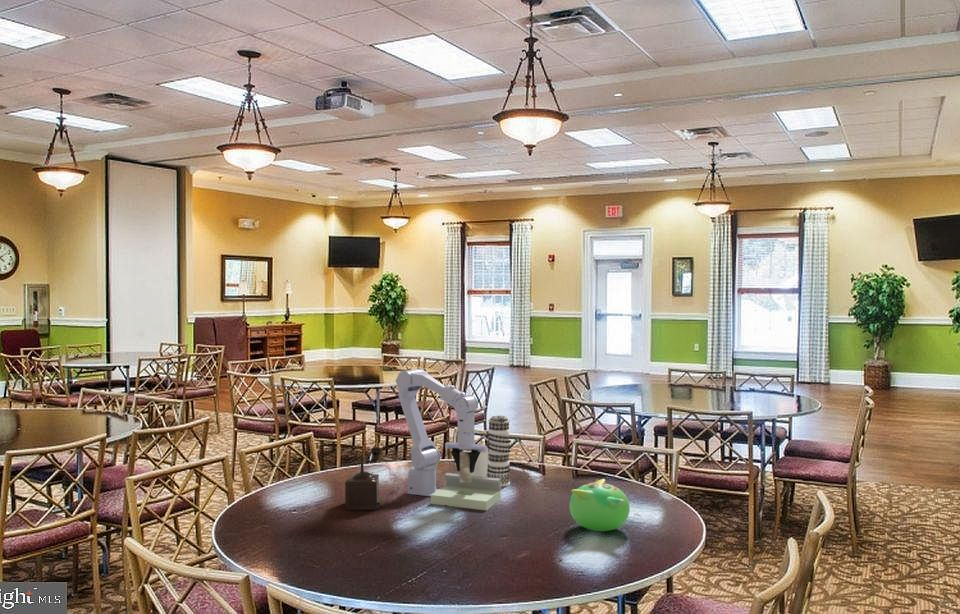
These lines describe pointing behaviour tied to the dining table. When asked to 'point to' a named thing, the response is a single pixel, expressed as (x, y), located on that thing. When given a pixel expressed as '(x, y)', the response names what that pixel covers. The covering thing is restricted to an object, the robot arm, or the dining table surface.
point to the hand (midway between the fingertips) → (465, 471)
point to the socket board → (468, 492)
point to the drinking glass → (481, 465)
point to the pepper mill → (363, 487)
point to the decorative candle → (499, 449)
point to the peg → (465, 467)
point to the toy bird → (599, 506)
